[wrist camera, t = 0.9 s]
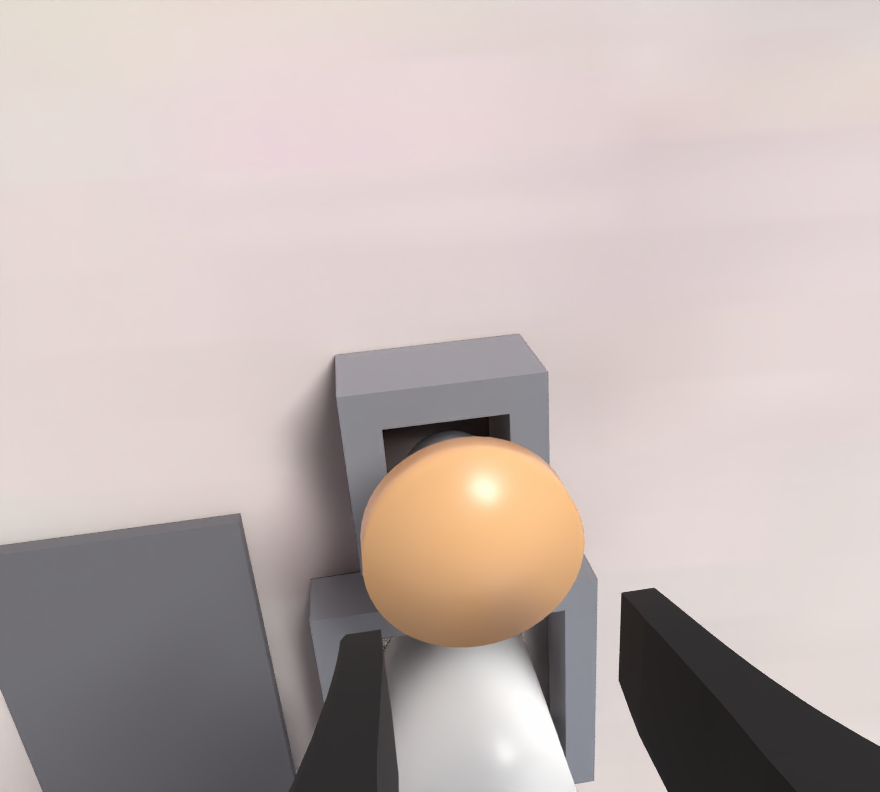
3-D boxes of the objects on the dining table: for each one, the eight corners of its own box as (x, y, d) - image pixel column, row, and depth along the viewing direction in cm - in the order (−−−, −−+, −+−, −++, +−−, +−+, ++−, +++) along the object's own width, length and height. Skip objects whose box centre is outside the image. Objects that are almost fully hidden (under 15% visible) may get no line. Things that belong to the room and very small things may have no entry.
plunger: (540, 536, 20) (583, 629, 17) (366, 561, 20) (375, 662, 16) (537, 376, 18) (585, 444, 15) (345, 398, 18) (349, 475, 14)
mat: (300, 795, 27) (299, 807, 26) (70, 834, 26) (66, 848, 25) (240, 513, 22) (238, 522, 21) (-44, 551, 21) (-53, 561, 21)
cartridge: (527, 704, 26) (587, 894, 20) (389, 727, 26) (408, 929, 20) (524, 592, 24) (589, 765, 18) (374, 615, 24) (389, 800, 18)
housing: (576, 734, 27) (603, 806, 25) (344, 773, 27) (346, 852, 24) (577, 327, 21) (614, 363, 18) (272, 361, 20) (264, 406, 17)
